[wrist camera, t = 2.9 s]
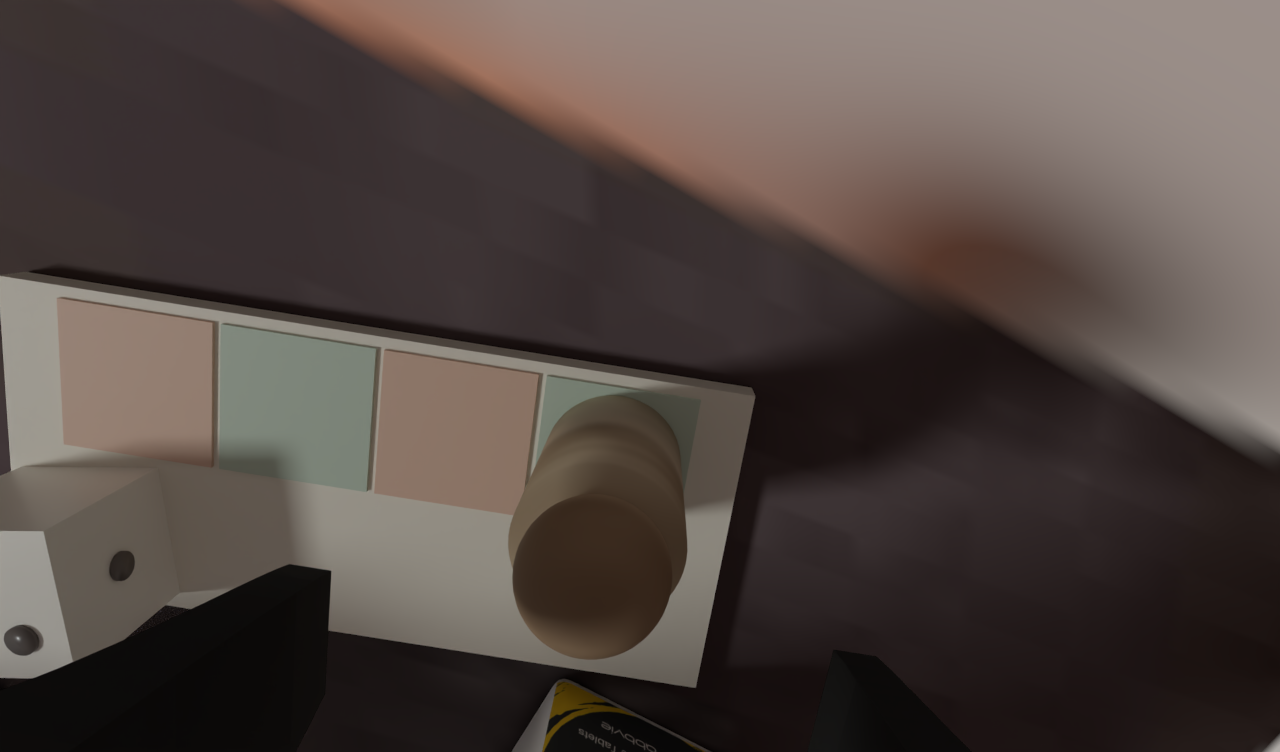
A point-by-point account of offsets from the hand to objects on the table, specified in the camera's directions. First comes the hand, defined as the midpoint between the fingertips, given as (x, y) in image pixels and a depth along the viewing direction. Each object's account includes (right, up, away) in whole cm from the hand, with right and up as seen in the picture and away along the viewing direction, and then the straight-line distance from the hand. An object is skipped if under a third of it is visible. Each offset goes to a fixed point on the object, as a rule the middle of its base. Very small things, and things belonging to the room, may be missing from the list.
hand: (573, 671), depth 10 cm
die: (-13, 0, +9) cm, 16 cm away
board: (-6, +1, +9) cm, 11 cm away
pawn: (0, +2, +8) cm, 8 cm away
